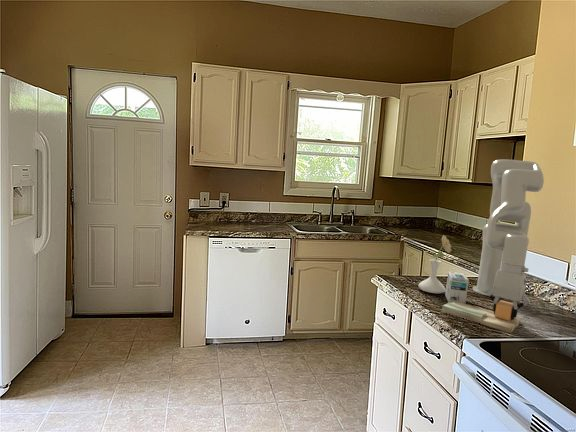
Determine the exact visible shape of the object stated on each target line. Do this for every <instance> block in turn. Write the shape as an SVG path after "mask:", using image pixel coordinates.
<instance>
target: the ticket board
mask: <svg viewBox="0 0 576 432" xmlns="http://www.w3.org/2000/svg"><path fill="white" fill-rule="evenodd" d="M442 312H444V314H446V313H447V315H449V314H450V316H452V315H453V316H452V317H456V316H457V318H459V317H460V319H462V318H464V319H463V320H466V319H467V321H469V320H470V321H469V322H473V321H474V322H473V323H476V322H477V323H476V324H479V323H480V324H479V325H482V326H486V327H489V328H492V329H493V328H494V329H497V330H500V331H503V332H507V333H511V334H512V332H513V331H514V330H515V329H516V328H517V327H519V325H520V324H521V321H522V319H521V318H518V317H516V318H514V319H513V320H510V321H508V320H505V319H501V318H498V317H495V315H494V312H493V310H489V309H486V308H482V307H479V306H475V305H471V304H467V303H466V304H464V303H461V302H457V301H454V302H452V303H449V302H448V301H447V303H444V305H442V308H441V313H442Z"/></svg>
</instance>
